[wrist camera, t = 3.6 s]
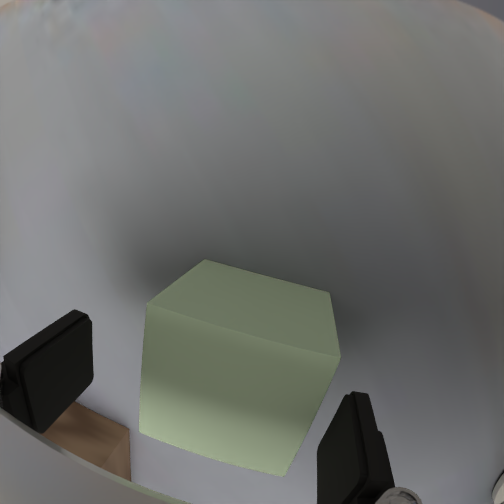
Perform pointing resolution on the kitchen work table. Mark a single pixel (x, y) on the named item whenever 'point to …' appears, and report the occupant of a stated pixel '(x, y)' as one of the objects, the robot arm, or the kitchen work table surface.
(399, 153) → the kitchen work table surface
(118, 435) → the walnut base block
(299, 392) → the green cube
